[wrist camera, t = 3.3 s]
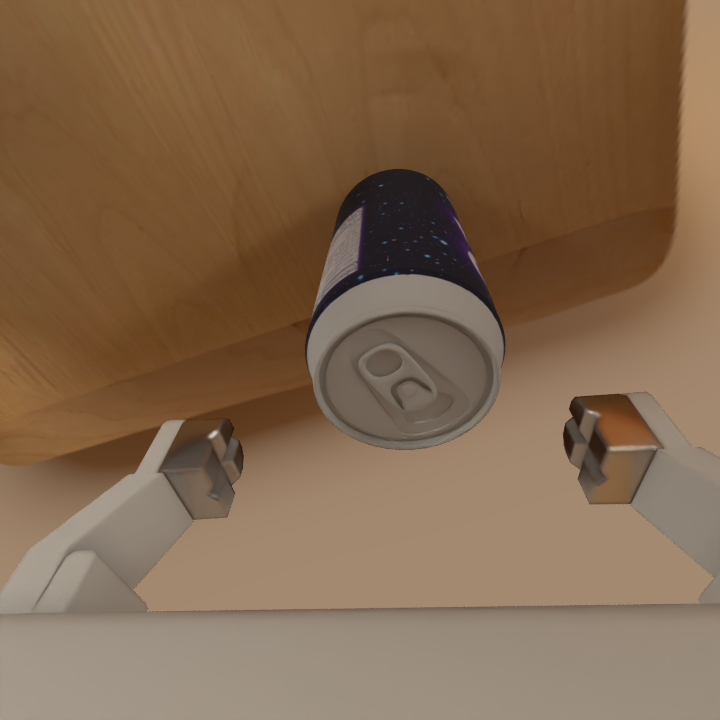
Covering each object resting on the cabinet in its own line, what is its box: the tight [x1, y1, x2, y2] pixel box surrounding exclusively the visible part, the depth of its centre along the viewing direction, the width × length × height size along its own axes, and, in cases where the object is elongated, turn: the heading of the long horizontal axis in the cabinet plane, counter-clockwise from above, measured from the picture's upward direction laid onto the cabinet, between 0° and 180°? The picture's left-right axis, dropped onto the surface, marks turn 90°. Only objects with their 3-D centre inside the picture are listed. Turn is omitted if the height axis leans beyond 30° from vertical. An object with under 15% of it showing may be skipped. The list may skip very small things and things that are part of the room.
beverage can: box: [305, 169, 505, 450], centre depth 16 cm, size 6×6×12 cm
